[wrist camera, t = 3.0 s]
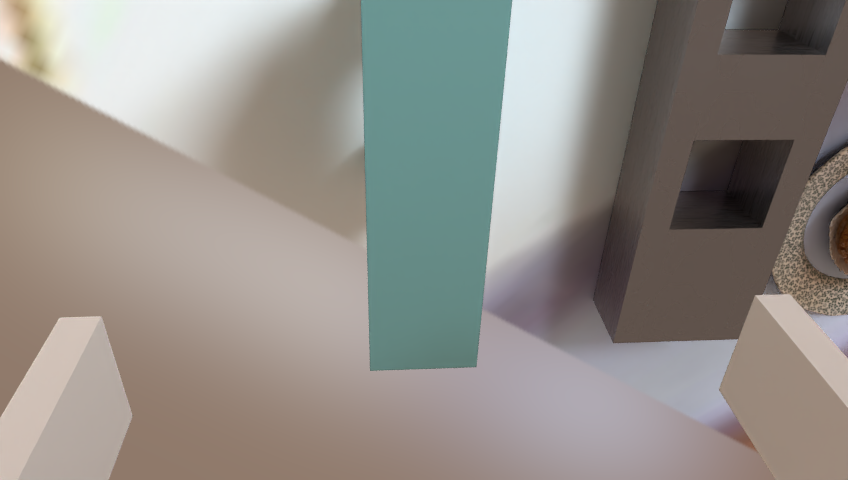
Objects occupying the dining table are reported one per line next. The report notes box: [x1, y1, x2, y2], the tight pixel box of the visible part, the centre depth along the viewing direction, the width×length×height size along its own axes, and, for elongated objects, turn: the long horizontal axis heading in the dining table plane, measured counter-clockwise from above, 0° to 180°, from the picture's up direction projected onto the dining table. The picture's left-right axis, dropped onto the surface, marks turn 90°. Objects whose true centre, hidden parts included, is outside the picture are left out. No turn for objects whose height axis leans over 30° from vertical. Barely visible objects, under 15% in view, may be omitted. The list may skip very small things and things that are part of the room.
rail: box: [593, 0, 848, 343], centre depth 28 cm, size 26×7×4 cm, turn 178°
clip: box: [361, 0, 512, 371], centre depth 23 cm, size 12×4×12 cm, turn 178°
